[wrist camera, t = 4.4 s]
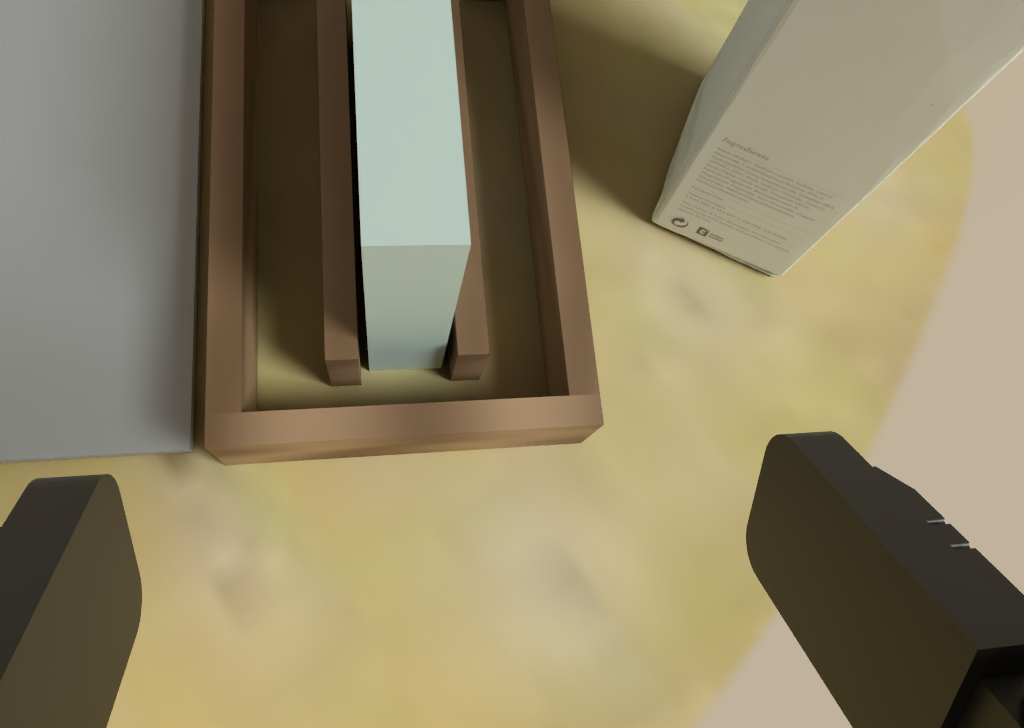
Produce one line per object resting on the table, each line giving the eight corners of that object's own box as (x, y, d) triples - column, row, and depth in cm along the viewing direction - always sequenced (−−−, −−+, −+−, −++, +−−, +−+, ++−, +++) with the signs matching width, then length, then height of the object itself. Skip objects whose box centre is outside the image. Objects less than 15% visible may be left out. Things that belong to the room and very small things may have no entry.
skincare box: (777, 283, 30) (1116, 8, 16) (638, 221, 30) (859, -111, 16) (826, 121, 33) (1152, -233, 19) (699, 64, 33) (933, -336, 19)
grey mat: (-233, 477, 23) (-244, 474, 22) (-139, -38, 28) (-146, -47, 28) (192, 452, 25) (190, 449, 24) (205, -23, 30) (203, -30, 30)
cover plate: (369, 371, 27) (360, 246, 17) (356, 37, 31) (343, -215, 21) (441, 368, 27) (470, 244, 18) (418, 39, 31) (433, -206, 22)
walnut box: (224, 465, 25) (204, 447, 22) (232, -32, 30) (216, -96, 28) (580, 442, 27) (603, 424, 24) (526, -18, 33) (539, -77, 30)
